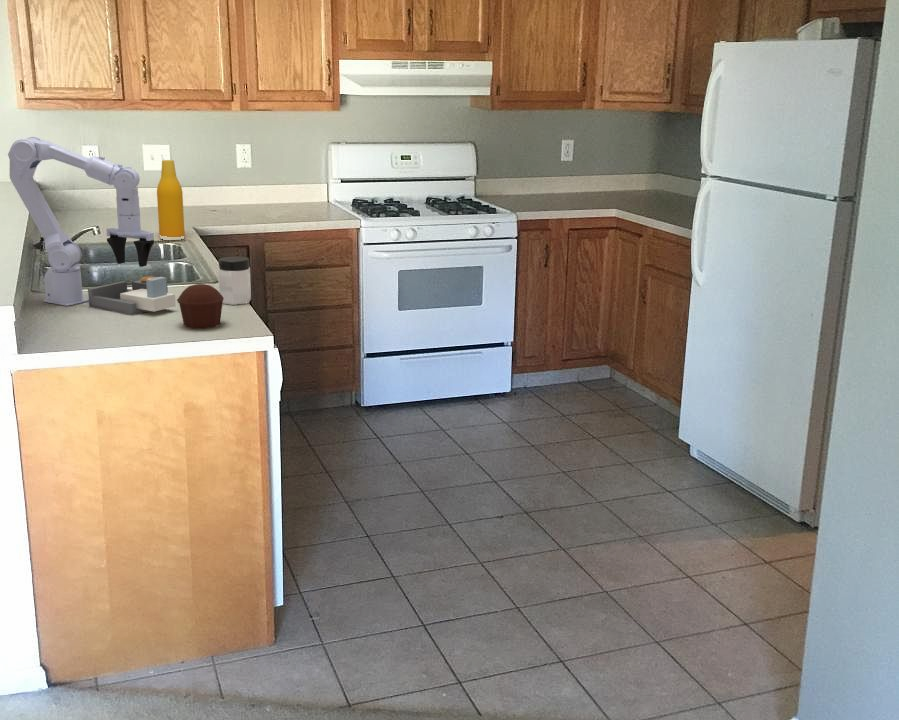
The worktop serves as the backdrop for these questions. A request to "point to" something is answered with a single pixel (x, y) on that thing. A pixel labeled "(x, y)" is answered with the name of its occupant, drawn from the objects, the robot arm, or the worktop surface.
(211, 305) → the muffin
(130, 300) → the white blue stepped block
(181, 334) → the worktop surface
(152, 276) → the orange round piece
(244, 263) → the jar
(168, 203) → the beer bottle
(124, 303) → the housing
